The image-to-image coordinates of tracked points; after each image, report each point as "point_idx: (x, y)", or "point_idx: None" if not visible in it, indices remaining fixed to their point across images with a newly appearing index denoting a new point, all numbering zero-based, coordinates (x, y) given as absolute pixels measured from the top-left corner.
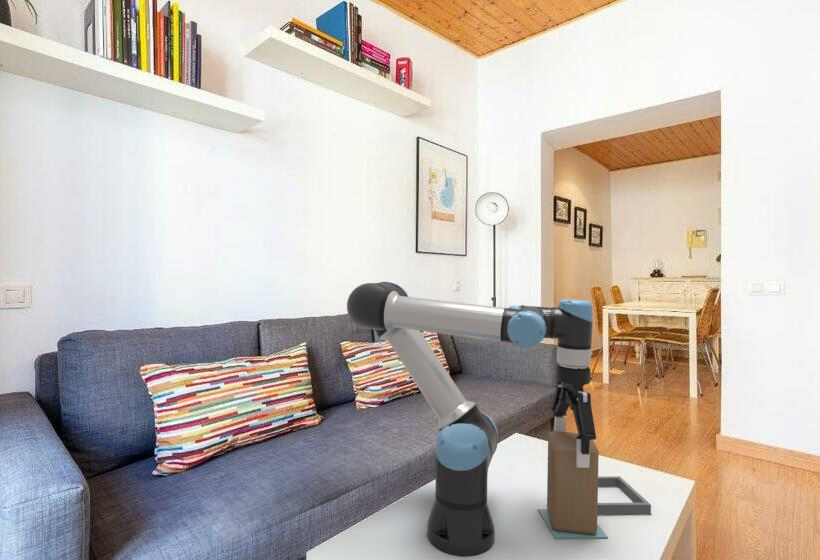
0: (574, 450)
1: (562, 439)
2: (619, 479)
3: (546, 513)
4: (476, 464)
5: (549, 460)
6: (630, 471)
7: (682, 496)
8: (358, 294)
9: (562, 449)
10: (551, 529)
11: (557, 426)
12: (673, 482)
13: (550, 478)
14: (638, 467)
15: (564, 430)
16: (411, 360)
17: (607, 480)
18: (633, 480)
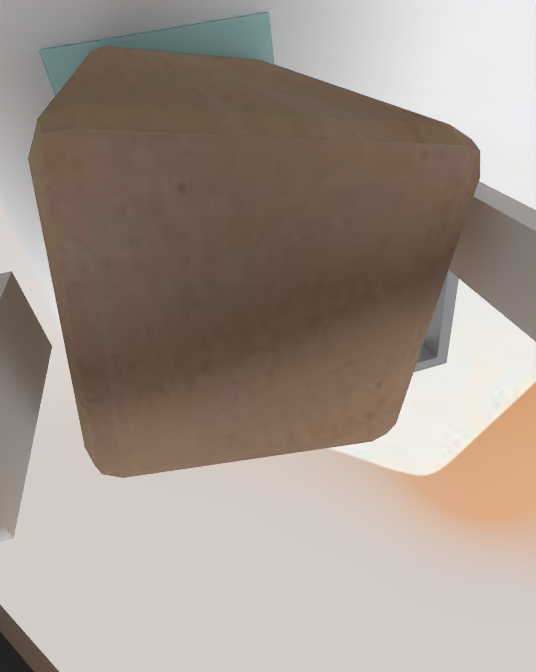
0: (60, 321)
1: (232, 252)
2: (429, 359)
3: (231, 50)
4: None
5: (260, 86)
6: (497, 382)
7: (367, 458)
8: None
9: (40, 213)
10: (101, 45)
11: (528, 250)
12: (429, 453)
13: (175, 69)
14: (512, 402)
15: (490, 292)
16: None
17: (436, 325)
18: (451, 381)
